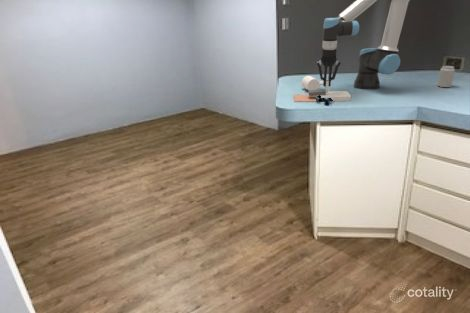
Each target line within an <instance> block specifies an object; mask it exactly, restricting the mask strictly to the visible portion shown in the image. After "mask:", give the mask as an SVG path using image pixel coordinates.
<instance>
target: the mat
mask: <svg viewBox="0 0 470 313" xmlns="http://www.w3.org/2000/svg"><path fill="white" fill-rule="evenodd" d="M316 97H317V96H309V94H293V102H294V103H301V102H302V103H310V102H311V103H312V102H314V103H316Z"/></svg>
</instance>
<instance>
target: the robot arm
mask: <svg viewBox="0 0 470 313" xmlns="http://www.w3.org/2000/svg"><path fill="white" fill-rule="evenodd" d="M377 1H378V0H355V1H353V2H352V3H350V5H349V6H347V7H346V8H345V9H344V10H342V11H341V12H340V13H339V14H338V15H337V16H335V17H326V18H324V21H323V27H322V28H323V29H322V31H323V33H322V45H321V46H322V50H321V57H320V60H319V61H316V65H317V67H318V72H319V78H320V80H321V81H322V82H323V85H322V86H323V87H324V89H325V91H326V93H328V91H329V87H331V85H332V81H334V80H335V78H336V75H337V73H338V69H339V66H340V65H341V61H339V60H338V59H337V48H338V38H339V37H352V36H356V35H357V34H358V33H359V31H360V24H359V22H358V20H356V18H357V17H358V16H360V15H361V14H362V13H363V12H365V11H366V10H367V9H369V8H370V7H371V6H372V5H374V3H375V2H377ZM410 1H411V0H391V2H390V5H389V11H388V15H387V18H386V21H385V27H384V31H383V35H382V40H381V43H380V45H379V46H377V47H369V48H362V49H361V50H360V51H359V56H358V57H359V58H358V70H357V75H356V78H355V80H354V81H353V82H354V83H353V87H354V88H357V89H361V90H376V89H378V88H380V84H381V82H380V77H379V74H382V75H392V74H394V72H396V71H397V70H398V69H399V68H400V65H401V58H400V56H399V49H398V44H399V39H400V35H401V33H402V28H403V26H404V20H405V17H406V13H407V10H408V6H409V3H410ZM321 65H323V66H324V67H323V69H324V70H323V71H322V67H321ZM334 65H335V66H334ZM333 66H334V69H333ZM332 71H333V73H332ZM327 74H328V75H327ZM327 76H328V77H327ZM327 78H328V79H327Z"/></svg>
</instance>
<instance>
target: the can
mask: <svg viewBox="0 0 470 313" xmlns="http://www.w3.org/2000/svg"><path fill="white" fill-rule="evenodd" d="M455 72H456V69H455V66H452V65H443V66H441V68H440V70H439V74H438V80H437V86H438V87H439V86H440V87H439V88H442V87H449V88H451V87H452V86H453V81H454V76H455Z"/></svg>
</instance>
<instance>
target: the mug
mask: <svg viewBox="0 0 470 313" xmlns="http://www.w3.org/2000/svg"><path fill="white" fill-rule="evenodd" d="M323 82H324V81H323V80H321V81H320V80H318V79H317V78H315V77H314V76H311V75H305V76H304V77H303V78H302V80H301V85H302V88H304V89H305V90H307V91H308V90H316V89H320V87H321V86H323Z"/></svg>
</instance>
